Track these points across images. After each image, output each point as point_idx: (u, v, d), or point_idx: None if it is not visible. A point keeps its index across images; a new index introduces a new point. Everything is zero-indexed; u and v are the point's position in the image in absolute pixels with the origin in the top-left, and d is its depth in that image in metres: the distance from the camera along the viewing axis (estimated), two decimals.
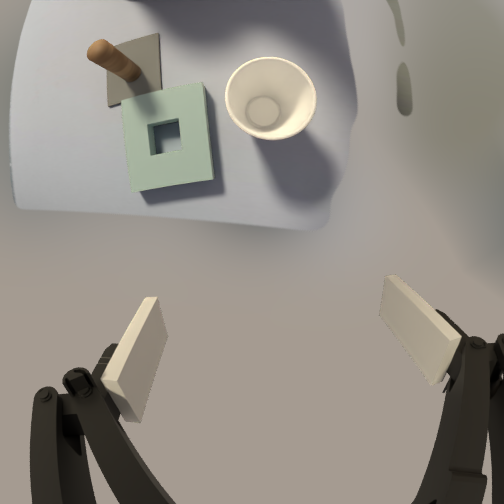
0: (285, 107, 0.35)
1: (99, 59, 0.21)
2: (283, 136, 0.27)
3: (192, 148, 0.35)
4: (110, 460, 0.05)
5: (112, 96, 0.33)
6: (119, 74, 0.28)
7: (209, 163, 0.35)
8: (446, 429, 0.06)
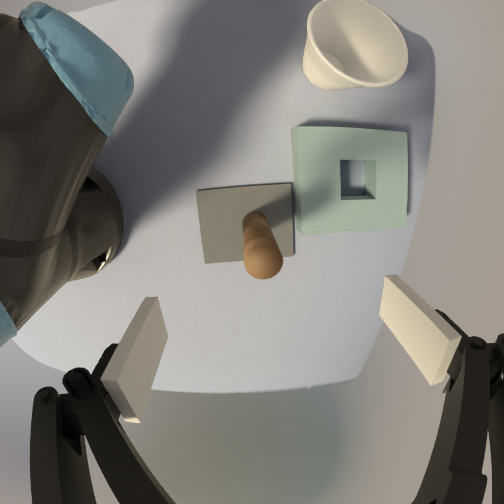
0: (324, 43, 0.24)
1: None
2: (403, 40, 0.16)
3: (376, 148, 0.28)
4: (110, 460, 0.05)
5: (281, 250, 0.34)
6: None
7: (392, 132, 0.27)
8: (446, 429, 0.06)
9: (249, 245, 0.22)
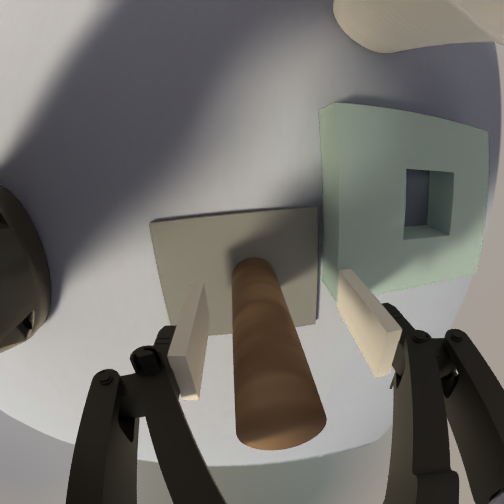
0: None
1: None
2: None
3: (454, 152, 0.14)
4: (166, 440, 0.06)
5: (297, 317, 0.20)
6: None
7: (472, 129, 0.13)
8: (401, 429, 0.07)
9: (247, 395, 0.08)
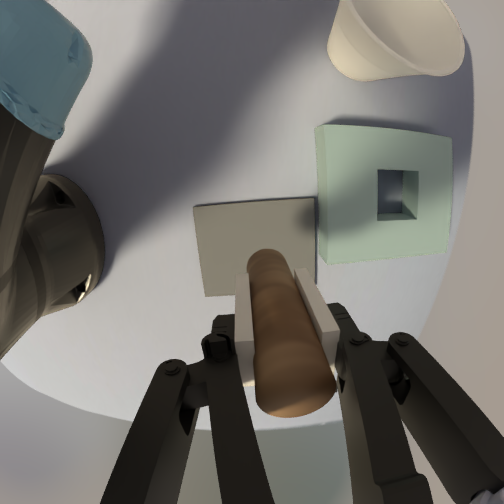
0: None
1: (335, 382, 0.09)
2: (456, 23, 0.09)
3: (419, 155, 0.21)
4: (226, 427, 0.07)
5: None
6: None
7: (436, 136, 0.20)
8: (353, 435, 0.07)
9: (266, 361, 0.09)
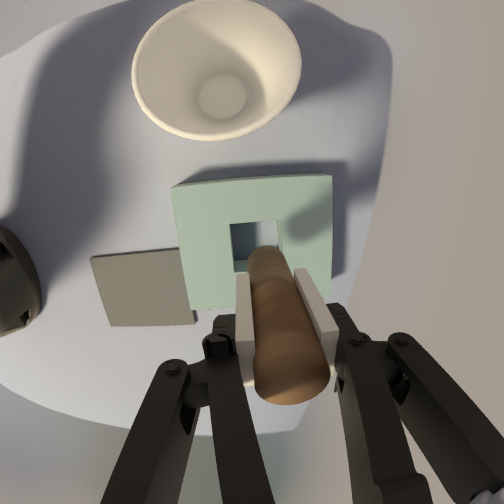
0: (217, 64, 0.20)
1: None
2: (294, 45, 0.12)
3: (281, 203, 0.23)
4: (227, 427, 0.07)
5: (181, 318, 0.30)
6: None
7: (307, 178, 0.23)
8: (353, 436, 0.07)
9: (264, 350, 0.10)
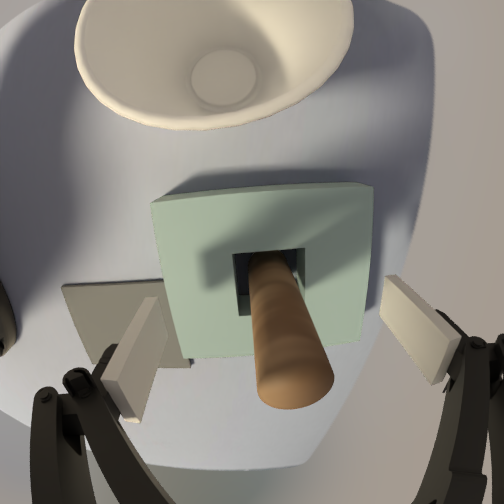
0: (216, 34, 0.14)
1: (333, 374, 0.10)
2: None
3: (306, 225, 0.17)
4: (110, 460, 0.05)
5: (173, 361, 0.23)
6: None
7: (342, 190, 0.16)
8: (446, 429, 0.06)
9: (268, 354, 0.10)
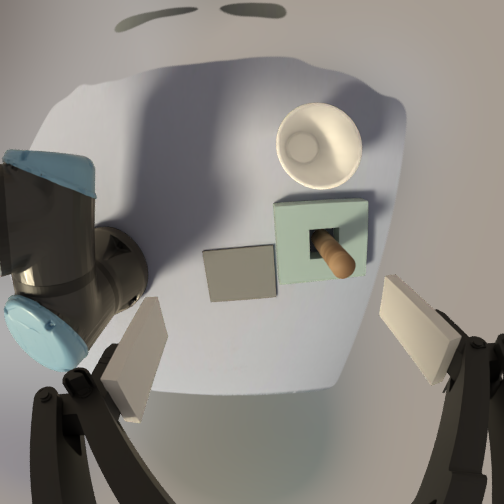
0: (301, 127, 0.36)
1: (355, 263, 0.31)
2: (359, 139, 0.27)
3: (339, 217, 0.39)
4: (110, 460, 0.05)
5: (267, 293, 0.45)
6: None
7: (354, 203, 0.38)
8: (446, 429, 0.06)
9: (334, 256, 0.32)
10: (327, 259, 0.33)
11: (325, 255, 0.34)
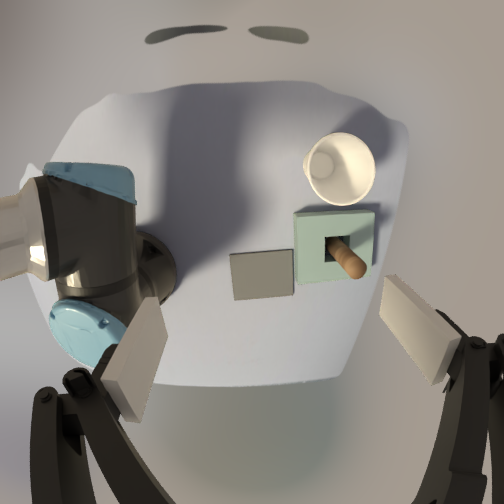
0: (320, 147, 0.41)
1: (366, 266, 0.37)
2: (373, 164, 0.33)
3: (350, 226, 0.45)
4: (110, 460, 0.05)
5: (285, 292, 0.51)
6: None
7: (363, 214, 0.44)
8: (446, 429, 0.06)
9: (349, 260, 0.38)
10: (343, 263, 0.39)
11: (340, 259, 0.40)
